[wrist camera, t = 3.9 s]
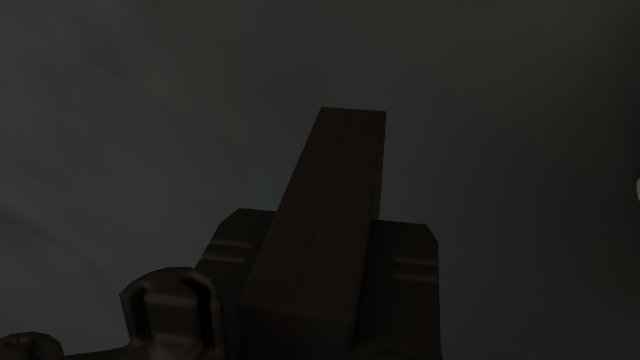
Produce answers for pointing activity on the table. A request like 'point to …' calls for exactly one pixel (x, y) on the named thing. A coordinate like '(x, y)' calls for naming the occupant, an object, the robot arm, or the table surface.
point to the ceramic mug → (638, 188)
